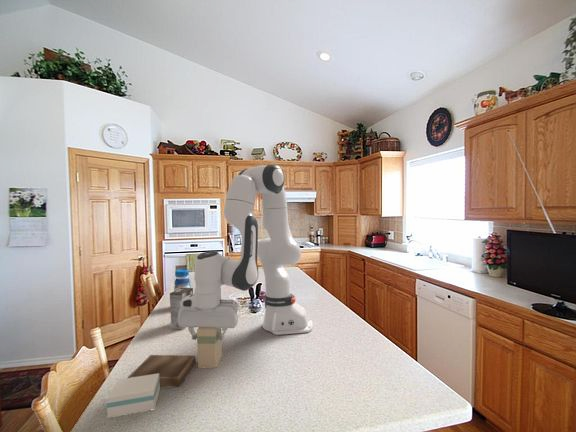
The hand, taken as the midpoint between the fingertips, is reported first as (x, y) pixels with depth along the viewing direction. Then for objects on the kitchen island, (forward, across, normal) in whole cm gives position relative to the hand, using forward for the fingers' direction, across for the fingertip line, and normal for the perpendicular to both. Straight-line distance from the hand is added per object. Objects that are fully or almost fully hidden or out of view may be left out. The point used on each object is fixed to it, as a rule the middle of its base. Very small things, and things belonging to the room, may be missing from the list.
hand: (208, 339), depth 97 cm
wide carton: (+9, +13, +20) cm, 26 cm away
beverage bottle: (+8, +33, -54) cm, 63 cm away
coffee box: (+8, +22, -30) cm, 39 cm away
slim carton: (+8, -1, -1) cm, 8 cm away
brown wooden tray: (+9, +12, +6) cm, 16 cm away
